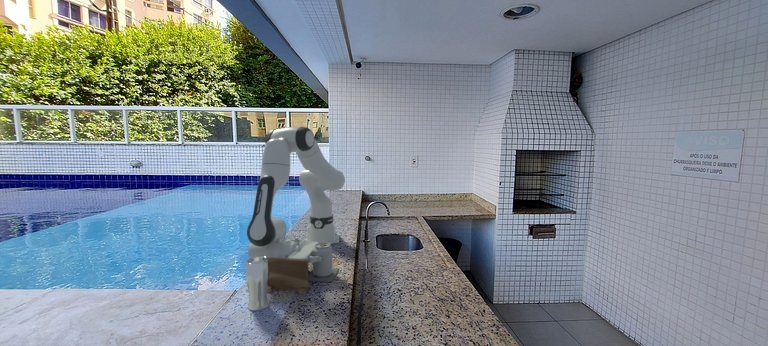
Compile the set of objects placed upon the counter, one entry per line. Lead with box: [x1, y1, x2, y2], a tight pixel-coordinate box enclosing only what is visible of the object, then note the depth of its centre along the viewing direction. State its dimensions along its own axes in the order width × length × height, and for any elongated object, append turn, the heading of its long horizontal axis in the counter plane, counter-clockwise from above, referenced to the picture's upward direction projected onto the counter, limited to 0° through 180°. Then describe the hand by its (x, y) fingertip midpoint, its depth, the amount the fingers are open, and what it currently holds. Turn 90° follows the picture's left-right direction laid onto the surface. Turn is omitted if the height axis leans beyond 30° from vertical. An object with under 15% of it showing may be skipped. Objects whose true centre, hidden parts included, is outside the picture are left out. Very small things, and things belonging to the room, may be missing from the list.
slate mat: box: [308, 268, 339, 283], centre depth 122 cm, size 11×10×1 cm
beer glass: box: [245, 256, 270, 312], centre depth 97 cm, size 7×7×15 cm
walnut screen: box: [267, 258, 311, 295], centre depth 109 cm, size 6×14×11 cm, turn 86°
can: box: [312, 243, 333, 277], centre depth 121 cm, size 8×8×12 cm
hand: (325, 254), depth 121 cm, fingers closed on can, 7 cm apart
